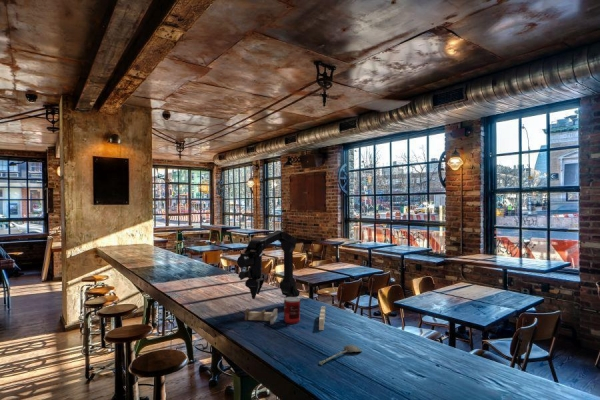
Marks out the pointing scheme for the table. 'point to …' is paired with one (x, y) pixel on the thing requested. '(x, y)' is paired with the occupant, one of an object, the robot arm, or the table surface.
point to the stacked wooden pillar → (261, 315)
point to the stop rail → (322, 318)
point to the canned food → (291, 310)
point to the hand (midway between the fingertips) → (255, 296)
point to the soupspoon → (347, 349)
